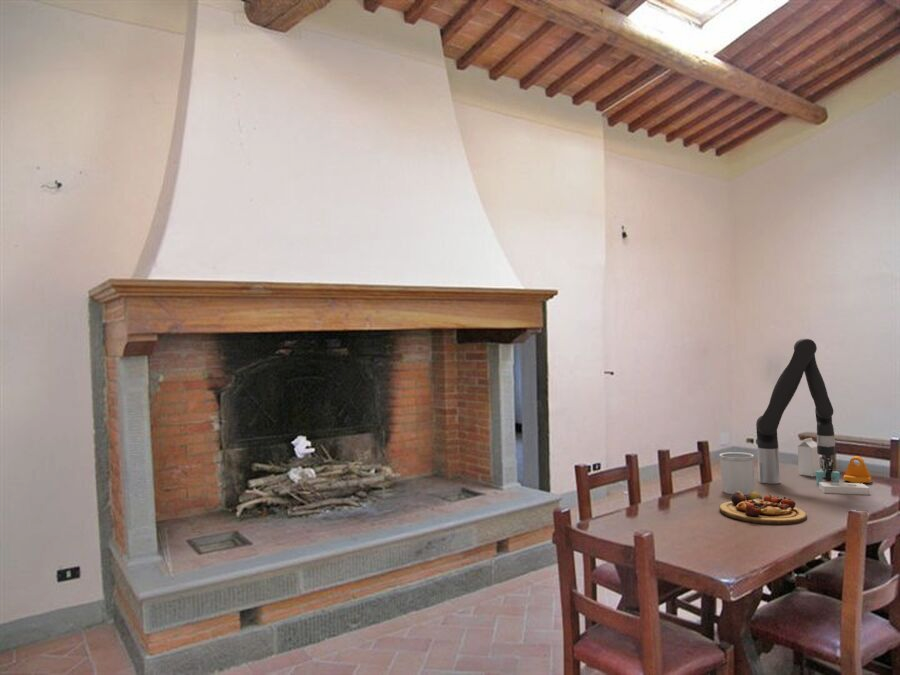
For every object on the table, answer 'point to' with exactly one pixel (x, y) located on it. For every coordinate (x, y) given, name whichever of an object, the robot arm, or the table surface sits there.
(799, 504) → the table surface
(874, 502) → the table surface
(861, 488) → the white slotted board
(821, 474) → the teal block
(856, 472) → the bracket
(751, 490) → the utensil holder
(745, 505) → the wooden plate with food
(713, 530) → the table surface
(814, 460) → the milk carton
